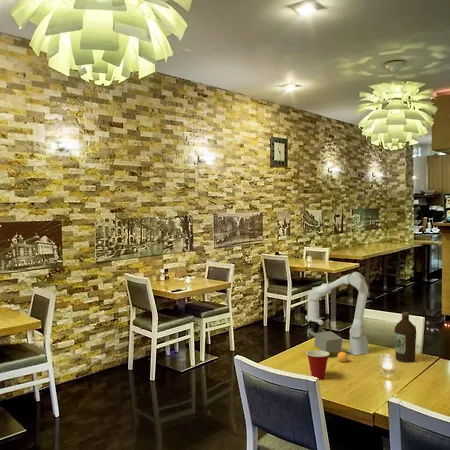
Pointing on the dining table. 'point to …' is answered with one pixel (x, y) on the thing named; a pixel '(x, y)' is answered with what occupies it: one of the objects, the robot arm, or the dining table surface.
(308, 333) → the grey open rectangular frame
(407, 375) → the dining table surface
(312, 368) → the plastic cup
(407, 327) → the olive oil
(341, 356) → the ball
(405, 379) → the dining table surface
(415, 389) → the dining table surface
